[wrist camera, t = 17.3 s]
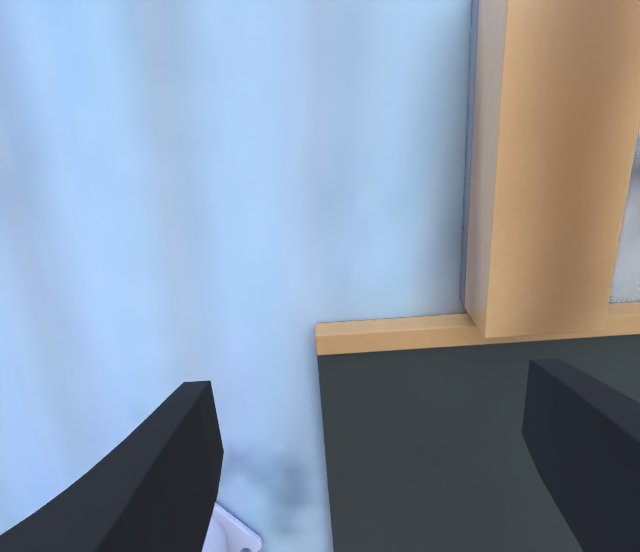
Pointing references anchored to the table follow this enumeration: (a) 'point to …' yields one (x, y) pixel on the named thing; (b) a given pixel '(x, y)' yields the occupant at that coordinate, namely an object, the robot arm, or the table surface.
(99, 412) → the table surface
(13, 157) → the table surface
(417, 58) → the table surface
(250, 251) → the table surface
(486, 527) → the slate board
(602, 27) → the eraser
